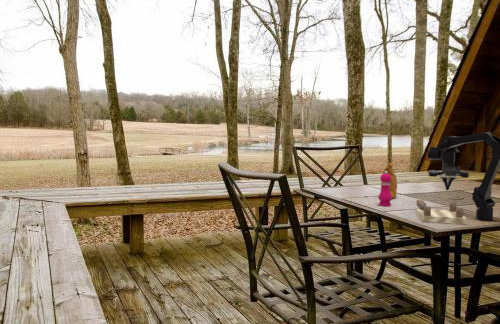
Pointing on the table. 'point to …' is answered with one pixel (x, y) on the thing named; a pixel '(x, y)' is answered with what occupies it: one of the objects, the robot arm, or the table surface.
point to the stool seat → (442, 215)
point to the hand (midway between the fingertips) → (447, 190)
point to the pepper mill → (385, 190)
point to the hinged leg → (421, 204)
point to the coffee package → (393, 180)
